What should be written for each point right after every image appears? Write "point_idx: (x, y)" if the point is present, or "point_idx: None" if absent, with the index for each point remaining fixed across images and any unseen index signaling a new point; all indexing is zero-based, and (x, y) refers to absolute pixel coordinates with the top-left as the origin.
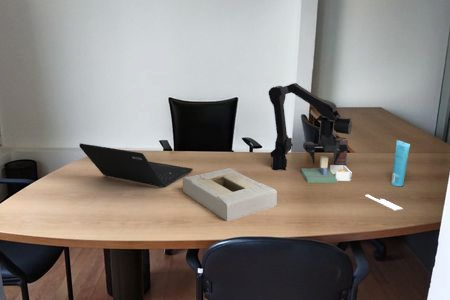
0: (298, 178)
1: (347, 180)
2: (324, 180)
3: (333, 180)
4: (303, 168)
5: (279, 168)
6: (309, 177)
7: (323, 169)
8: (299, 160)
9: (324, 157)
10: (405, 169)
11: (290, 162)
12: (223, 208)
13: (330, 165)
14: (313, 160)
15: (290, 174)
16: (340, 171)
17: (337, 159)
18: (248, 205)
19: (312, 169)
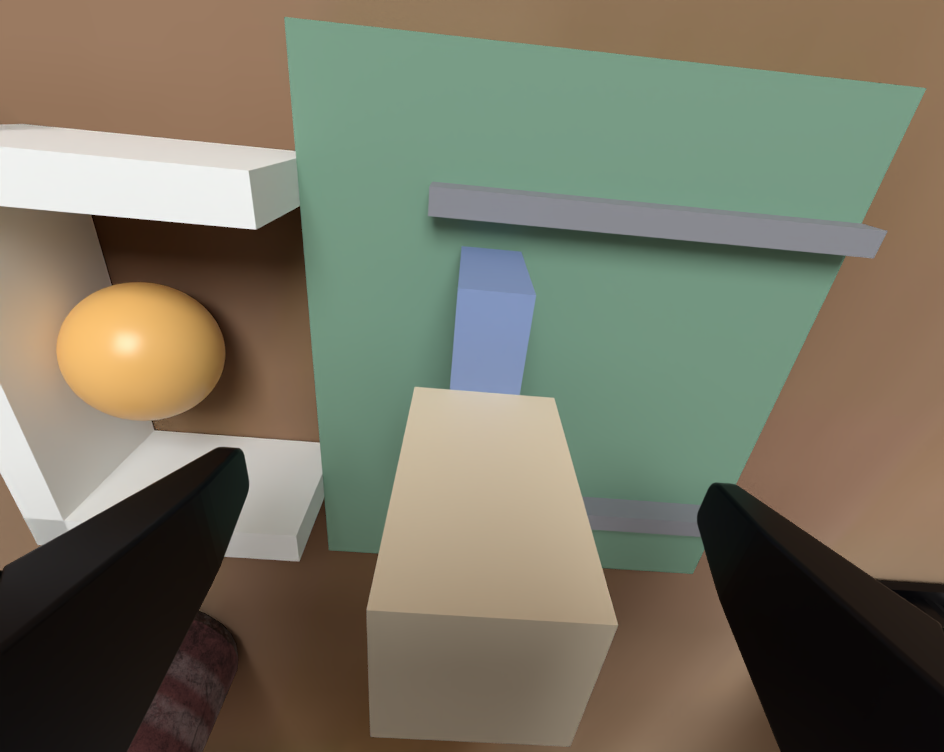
0: (876, 313)
1: (86, 132)
2: (566, 52)
3: (374, 28)
4: (663, 566)
5: (915, 600)
6: (810, 209)
7: (529, 320)
8: (538, 745)
9: (505, 640)
10: None
11: (647, 719)
12: None
13: (295, 547)
14: (826, 563)
15: (875, 460)
16: (150, 343)
17: (151, 713)
18: None
19: (586, 509)
